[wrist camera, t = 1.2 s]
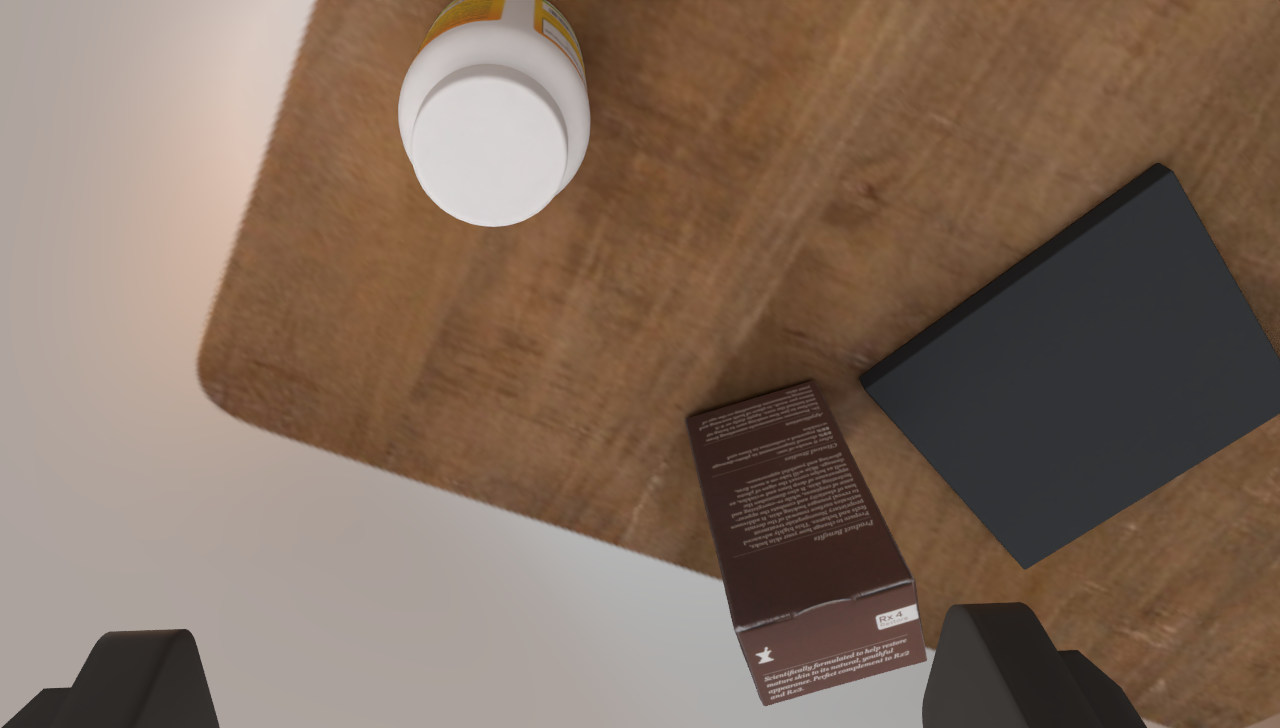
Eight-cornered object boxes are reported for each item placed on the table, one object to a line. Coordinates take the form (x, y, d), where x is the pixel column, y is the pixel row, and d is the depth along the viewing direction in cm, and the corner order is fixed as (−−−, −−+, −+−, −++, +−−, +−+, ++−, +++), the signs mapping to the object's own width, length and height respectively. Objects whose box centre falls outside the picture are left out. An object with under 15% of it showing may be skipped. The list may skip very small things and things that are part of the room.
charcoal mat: (1158, 161, 36) (1173, 169, 35) (1288, 388, 42) (1303, 399, 41) (857, 377, 40) (864, 390, 39) (1016, 556, 46) (1024, 570, 45)
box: (708, 493, 42) (759, 714, 32) (682, 414, 40) (728, 624, 30) (838, 456, 42) (933, 667, 32) (819, 374, 40) (915, 572, 29)
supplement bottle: (411, 120, 33) (363, 225, 25) (442, -40, 30) (401, 17, 22) (560, 161, 34) (564, 274, 26) (602, 11, 32) (620, 82, 23)
